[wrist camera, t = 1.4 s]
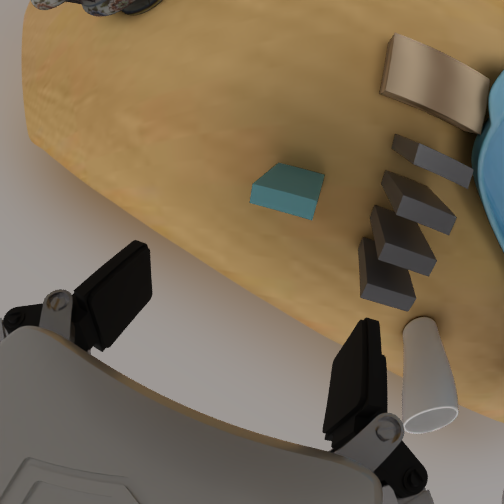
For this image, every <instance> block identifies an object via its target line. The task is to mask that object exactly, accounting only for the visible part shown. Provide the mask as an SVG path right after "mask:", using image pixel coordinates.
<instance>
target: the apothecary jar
mask: <svg viewBox="0 0 504 504" xmlns="http://www.w3.org/2000/svg"><path fill="white" fill-rule="evenodd" d="M161 1H162V0H31V2H32V4H33V5H34V6H35V7H36V8H37V9H40V10H48V9H52V8H55V7H57V6H59V5H60V4H62V3H64V2H72V3H78V4H82V6H83V8H84V10H85V11H86V12H87V13H88V14H90V15H93V16H108V15H111V14H114V13H117V12H119V11H122V12H124V13H125V14H128V15H137V14H141V13H144V12H146V11H148V10H150V9H151V8H153V7H155V6H156V5H157V4H158V3H159V2H161Z"/></svg>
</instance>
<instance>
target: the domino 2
mask: <svg viewBox="0 0 504 504" xmlns="http://www.w3.org/2000/svg"><path fill="white" fill-rule="evenodd" d="M381 185H382V187H383V189H384V191H385V193H386V195H387V197H388V199H389V201H390V203H391V205H392V207H393V209H394V211H395V213H396V215H398V216H401V217H404V218H406V219H409V220H412V221H414V222H417V223H420V224H422V225H425V226H427V227H430V228H432V229H435V230H437V231H440V232H442V233H444V234H447V235H449V234H450V232H451V230H452V227H453V225H454V223H455V220H456V218H457V217H456V216H455V215H454V214H453V213H452V212H451V211H450V209H449V208H448V207H447V206H446V205H445V204H444V203H443V202H442V201H441V200H440V199H439V198H438V197H437V196H436V195H435V194H434V193H433V192H432V191H431V190H430V189H429V188H428V187H427V186H426V185H423V184H421V183H418V182H416V181H413V180H411V179H408V178H406V177H403V176H401V175H398V174H395V173H393V172H390V171H387V170H385V173H384V176H383V179H382V182H381Z"/></svg>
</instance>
